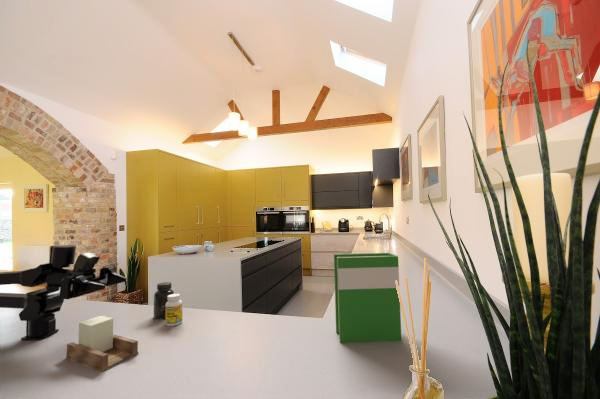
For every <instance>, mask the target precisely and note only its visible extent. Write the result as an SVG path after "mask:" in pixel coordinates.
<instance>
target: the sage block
mask: <svg viewBox="0 0 600 399" xmlns="http://www.w3.org/2000/svg"><path fill="white" fill-rule="evenodd" d="M113 334H114V318H113V317H109V316H105V315H99V316H95V317H92V318H90V319H86V320H83V321H80V322H78V341H77V342H78V343H77V344H79V345H82V346H85V347H88V348H91V349H94V350H97V351H100V352H104V351H106V350H109V349H111V348H113Z"/></svg>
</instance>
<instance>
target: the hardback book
mask: <svg viewBox="0 0 600 399" xmlns="http://www.w3.org/2000/svg"><path fill="white" fill-rule="evenodd" d="M333 264H334V266H333V268H334V300H335V304H334V305H335V306H334V307H335V332H336V334H339V343H340V344H354V343H377V342H378V343H381V342H402V322H401V301H400V302H399V298H398V294H397V290H396V284H395V280H397V281H398V285H399V286H400V270H399V269H400V268H399V256H398V255H395V254H394V253H390V252H378V253H377V252H375V253H374V252H372V253H369V252H368V253H365V252H364V253H342V254H341V253H337V254H336V253H334V254H333Z"/></svg>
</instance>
